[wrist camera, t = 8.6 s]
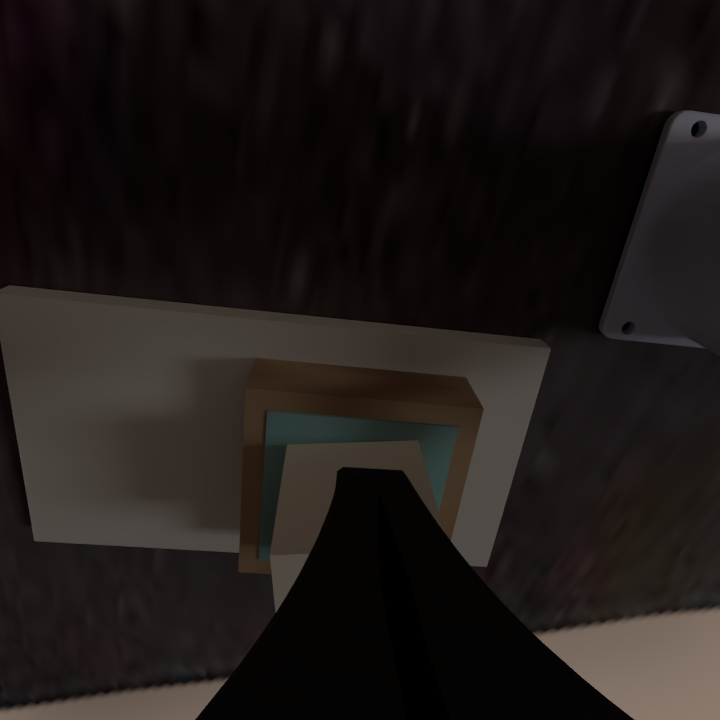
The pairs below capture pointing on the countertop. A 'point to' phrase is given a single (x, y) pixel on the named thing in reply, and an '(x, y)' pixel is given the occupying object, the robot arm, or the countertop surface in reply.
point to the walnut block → (348, 432)
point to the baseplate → (213, 410)
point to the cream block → (329, 496)
